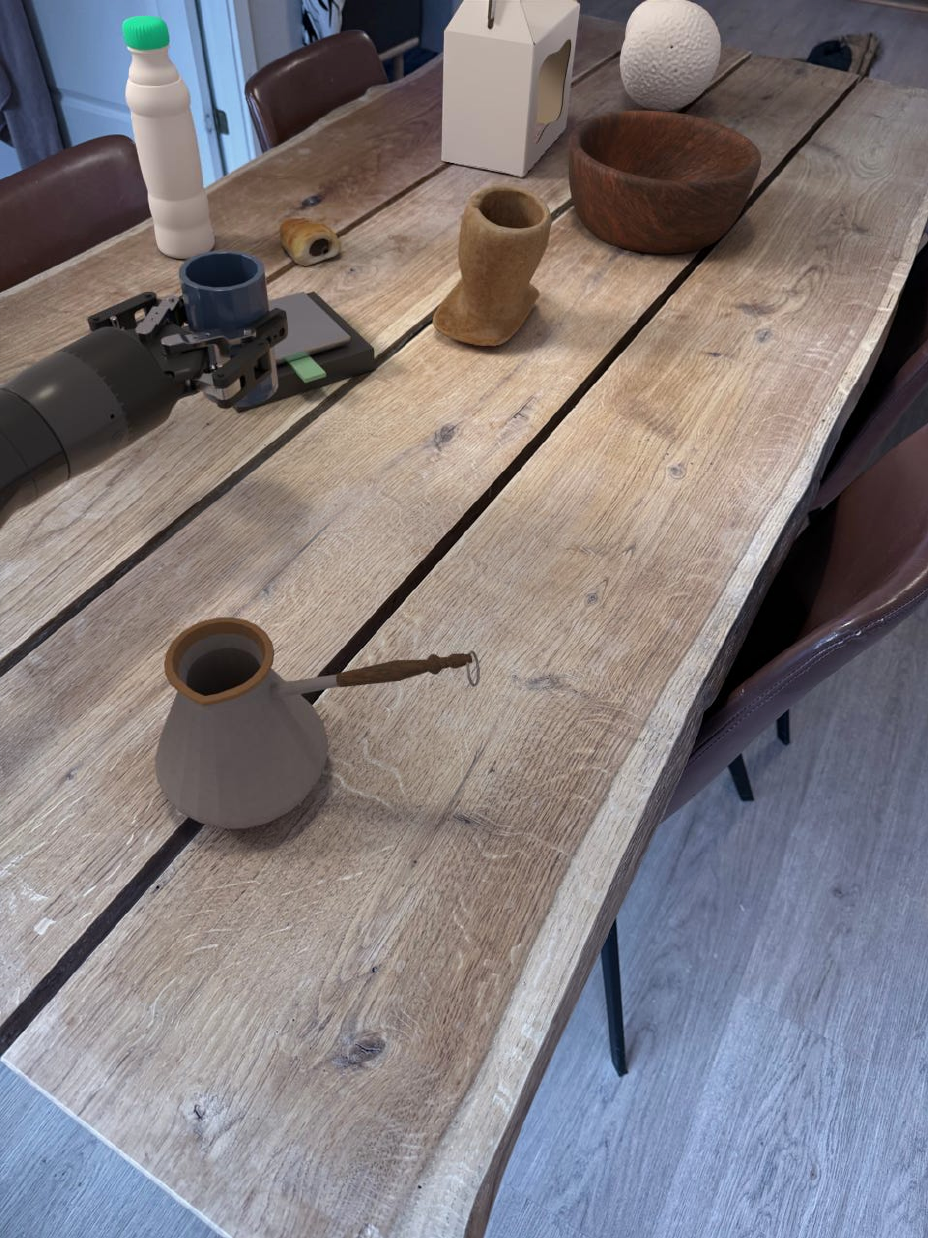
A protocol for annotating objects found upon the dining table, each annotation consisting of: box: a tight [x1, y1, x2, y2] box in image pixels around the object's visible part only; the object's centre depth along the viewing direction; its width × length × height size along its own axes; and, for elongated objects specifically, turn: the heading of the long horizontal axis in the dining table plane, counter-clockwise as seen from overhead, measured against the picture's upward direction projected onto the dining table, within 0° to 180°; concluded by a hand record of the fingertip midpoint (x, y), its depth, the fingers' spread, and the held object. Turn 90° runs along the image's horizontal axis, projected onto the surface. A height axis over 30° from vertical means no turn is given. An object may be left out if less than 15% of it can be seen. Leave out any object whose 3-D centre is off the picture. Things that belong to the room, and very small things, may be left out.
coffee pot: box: [154, 616, 481, 830], centre depth 58 cm, size 21×12×15 cm, turn 85°
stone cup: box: [432, 183, 553, 347], centre depth 100 cm, size 15×12×15 cm
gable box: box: [440, 0, 581, 178], centre depth 132 cm, size 22×13×28 cm, turn 159°
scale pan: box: [268, 291, 351, 365], centre depth 96 cm, size 12×11×1 cm
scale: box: [184, 291, 376, 413], centre depth 97 cm, size 16×16×3 cm
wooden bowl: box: [567, 110, 762, 255], centre depth 122 cm, size 25×25×10 cm
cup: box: [178, 249, 278, 408], centre depth 71 cm, size 6×6×10 cm
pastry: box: [278, 217, 342, 267], centre depth 115 cm, size 9×7×4 cm
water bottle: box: [121, 15, 215, 260], centre depth 106 cm, size 7×7×25 cm
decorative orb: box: [619, 0, 722, 112], centre depth 150 cm, size 20×18×16 cm
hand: (249, 306), depth 72 cm, fingers closed on cup, 6 cm apart
